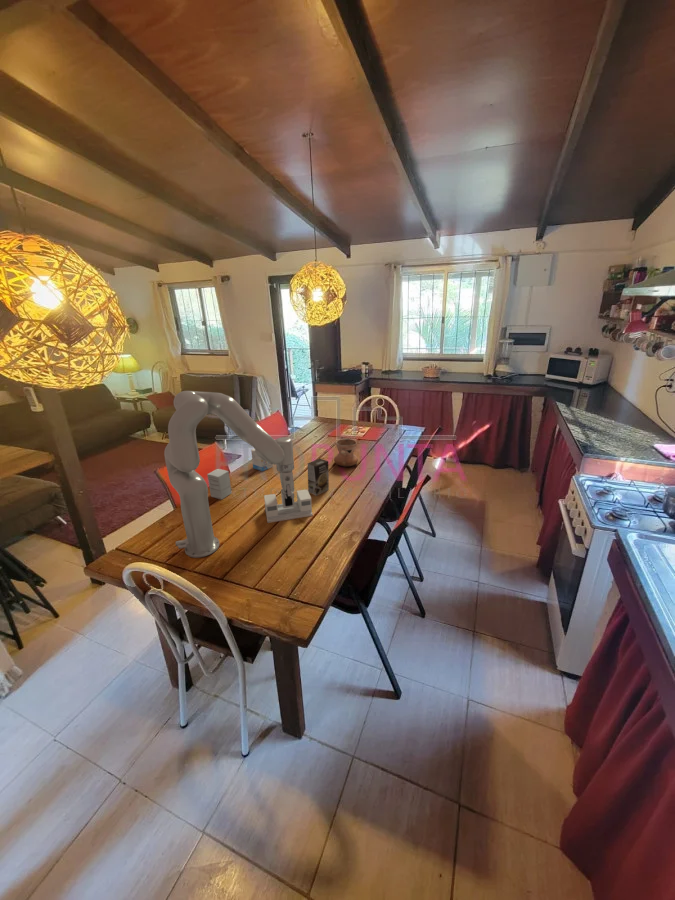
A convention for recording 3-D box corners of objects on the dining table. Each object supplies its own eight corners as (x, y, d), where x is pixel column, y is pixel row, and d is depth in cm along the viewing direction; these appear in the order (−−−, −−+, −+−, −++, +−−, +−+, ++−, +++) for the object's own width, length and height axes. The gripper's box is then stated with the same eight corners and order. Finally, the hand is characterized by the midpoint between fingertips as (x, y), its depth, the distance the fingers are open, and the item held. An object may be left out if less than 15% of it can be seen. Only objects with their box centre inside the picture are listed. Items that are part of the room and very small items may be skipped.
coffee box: (316, 496, 171) (315, 466, 165) (307, 492, 175) (306, 463, 170) (329, 489, 178) (328, 461, 172) (320, 485, 182) (319, 457, 176)
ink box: (262, 471, 199) (260, 450, 194) (252, 468, 203) (250, 447, 198) (273, 466, 205) (271, 445, 200) (263, 463, 210) (261, 442, 205)
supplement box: (221, 490, 178) (217, 468, 173) (232, 493, 175) (229, 470, 170) (210, 496, 172) (206, 473, 167) (221, 499, 169) (218, 476, 164)
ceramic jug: (354, 470, 199) (355, 447, 194) (330, 468, 202) (330, 445, 197) (360, 459, 215) (361, 438, 210) (338, 457, 218) (338, 435, 213)
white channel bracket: (267, 522, 150) (266, 506, 147) (265, 508, 160) (263, 493, 158) (312, 515, 155) (312, 500, 152) (307, 502, 166) (306, 487, 163)
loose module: (295, 506, 155) (294, 492, 152) (283, 508, 153) (282, 494, 151) (293, 501, 159) (292, 487, 157) (282, 502, 158) (280, 489, 155)
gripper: (297, 472, 142) (299, 510, 149) (290, 457, 158) (293, 492, 164) (279, 475, 141) (282, 513, 147) (274, 459, 156) (277, 494, 162)
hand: (287, 501), depth 156 cm, fingers closed on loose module, 5 cm apart
